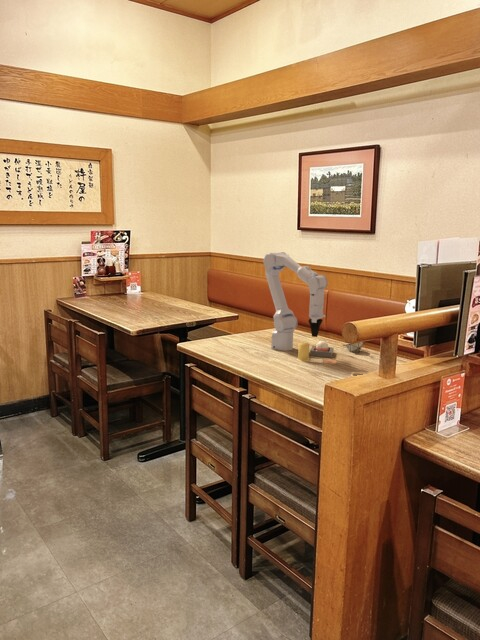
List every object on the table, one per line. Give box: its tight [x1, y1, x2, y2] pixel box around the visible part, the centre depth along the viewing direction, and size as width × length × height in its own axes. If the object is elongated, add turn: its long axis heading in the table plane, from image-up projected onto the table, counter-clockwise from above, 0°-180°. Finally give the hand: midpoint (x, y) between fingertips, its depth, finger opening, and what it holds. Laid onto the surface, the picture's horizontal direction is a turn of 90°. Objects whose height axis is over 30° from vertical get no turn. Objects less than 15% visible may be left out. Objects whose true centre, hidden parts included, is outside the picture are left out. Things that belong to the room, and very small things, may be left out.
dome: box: [315, 340, 330, 352], centre depth 216 cm, size 6×6×5 cm
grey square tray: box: [309, 345, 334, 359], centre depth 217 cm, size 9×9×2 cm
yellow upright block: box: [297, 342, 310, 362], centre depth 208 cm, size 4×4×6 cm
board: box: [296, 357, 337, 365], centre depth 212 cm, size 17×22×1 cm
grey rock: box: [342, 341, 366, 353], centre depth 224 cm, size 9×8×10 cm
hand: (314, 336), depth 211 cm, fingers closed
